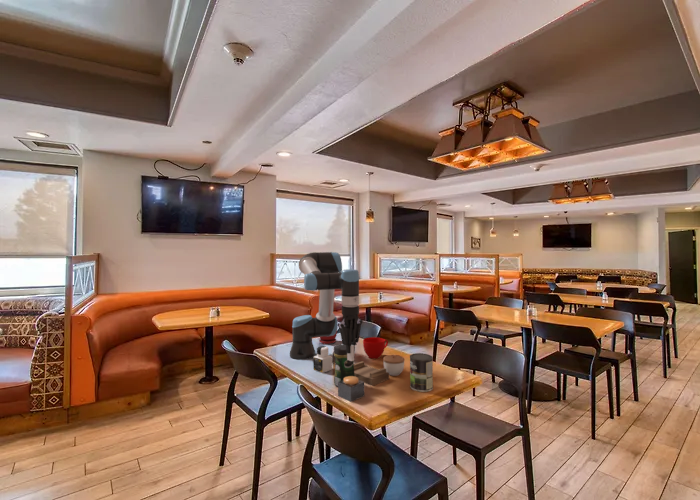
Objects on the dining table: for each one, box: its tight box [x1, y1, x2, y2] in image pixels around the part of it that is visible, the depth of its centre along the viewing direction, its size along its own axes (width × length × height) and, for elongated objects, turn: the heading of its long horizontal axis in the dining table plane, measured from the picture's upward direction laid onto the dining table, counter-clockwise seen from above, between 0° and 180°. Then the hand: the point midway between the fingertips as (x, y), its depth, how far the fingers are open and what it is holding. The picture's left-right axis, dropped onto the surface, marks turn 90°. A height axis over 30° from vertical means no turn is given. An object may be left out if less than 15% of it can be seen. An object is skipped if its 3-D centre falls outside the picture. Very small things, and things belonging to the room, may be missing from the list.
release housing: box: [337, 380, 365, 402], centre depth 144 cm, size 8×8×6 cm
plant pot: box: [319, 330, 338, 345], centre depth 232 cm, size 13×13×12 cm
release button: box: [343, 376, 359, 386], centre depth 144 cm, size 6×6×7 cm
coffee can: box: [409, 352, 434, 393], centre depth 153 cm, size 10×10×14 cm
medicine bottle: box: [312, 345, 333, 374], centre depth 177 cm, size 7×7×12 cm
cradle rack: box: [354, 361, 390, 387], centre depth 166 cm, size 18×12×5 cm, turn 44°
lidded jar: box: [382, 354, 405, 377], centre depth 171 cm, size 11×11×9 cm
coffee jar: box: [333, 344, 356, 388], centre depth 157 cm, size 10×8×19 cm
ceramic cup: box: [362, 336, 389, 360], centre depth 199 cm, size 13×17×10 cm
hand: (350, 360), depth 145 cm, fingers closed
